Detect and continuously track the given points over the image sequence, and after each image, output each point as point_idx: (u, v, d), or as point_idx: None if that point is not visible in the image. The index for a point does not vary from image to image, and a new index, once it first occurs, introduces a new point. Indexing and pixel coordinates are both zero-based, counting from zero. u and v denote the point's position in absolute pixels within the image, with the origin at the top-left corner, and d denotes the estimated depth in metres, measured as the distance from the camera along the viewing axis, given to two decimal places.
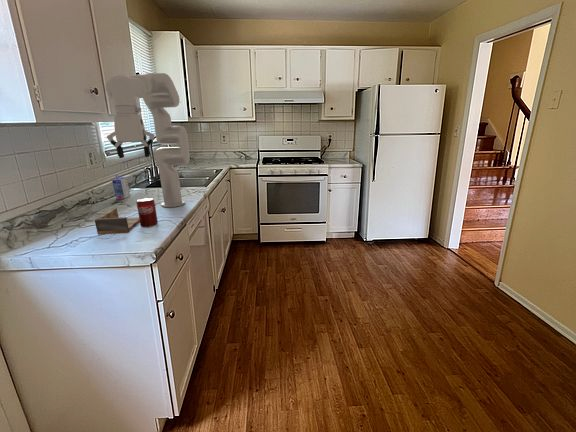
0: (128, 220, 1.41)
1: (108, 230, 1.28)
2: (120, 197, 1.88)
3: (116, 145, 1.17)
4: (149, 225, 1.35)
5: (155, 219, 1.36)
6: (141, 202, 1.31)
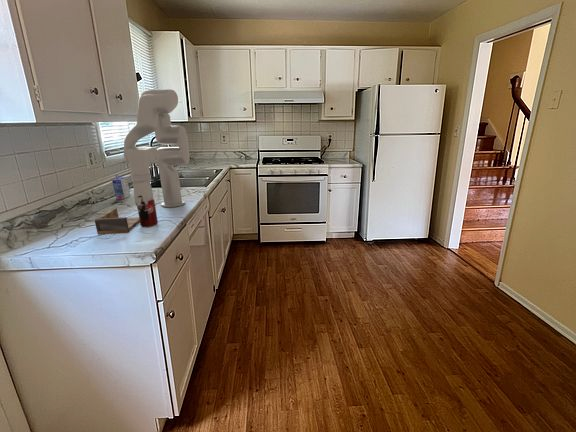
0: (128, 220, 1.41)
1: (108, 230, 1.28)
2: (120, 197, 1.88)
3: (146, 209, 1.31)
4: (149, 225, 1.35)
5: (155, 219, 1.36)
6: None
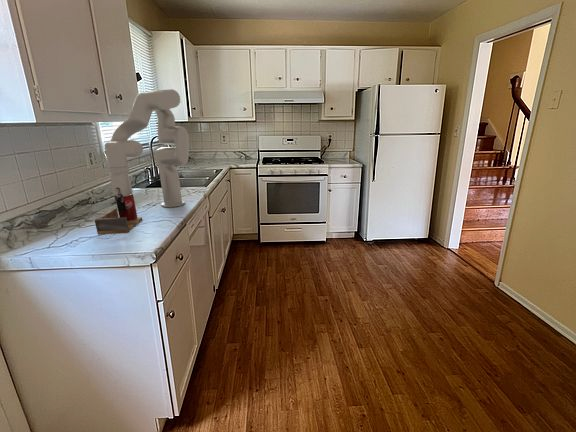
0: None
1: (108, 230, 1.28)
2: None
3: (122, 200, 1.33)
4: (128, 220, 1.38)
5: (134, 214, 1.40)
6: None
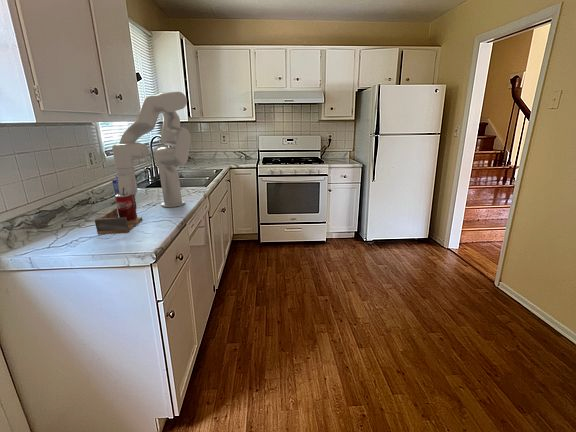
0: None
1: (108, 230, 1.28)
2: None
3: None
4: (128, 220, 1.38)
5: (134, 214, 1.40)
6: (119, 197, 1.34)
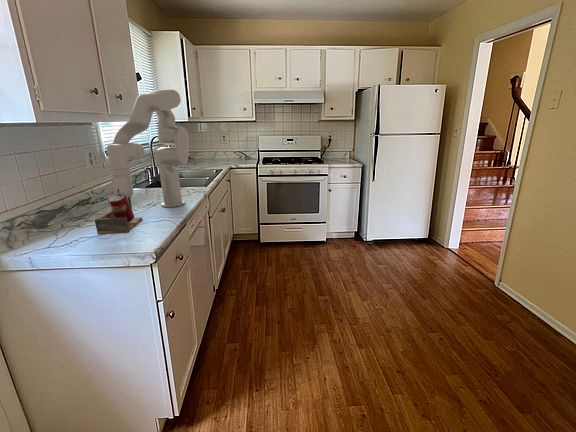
0: None
1: (108, 230, 1.28)
2: None
3: None
4: None
5: (130, 215, 1.36)
6: (113, 202, 1.29)
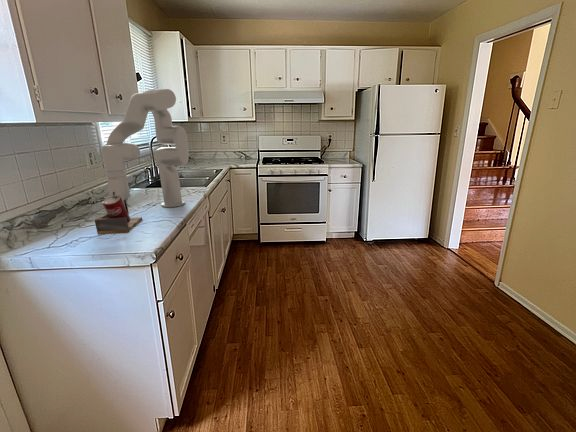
0: None
1: (108, 230, 1.28)
2: None
3: None
4: None
5: None
6: (107, 205, 1.24)
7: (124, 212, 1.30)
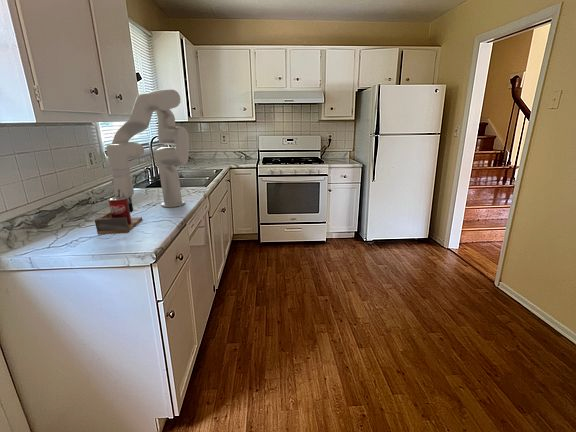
0: None
1: (108, 230, 1.28)
2: None
3: (129, 202, 1.39)
4: None
5: (128, 219, 1.32)
6: (112, 201, 1.28)
7: (127, 212, 1.32)
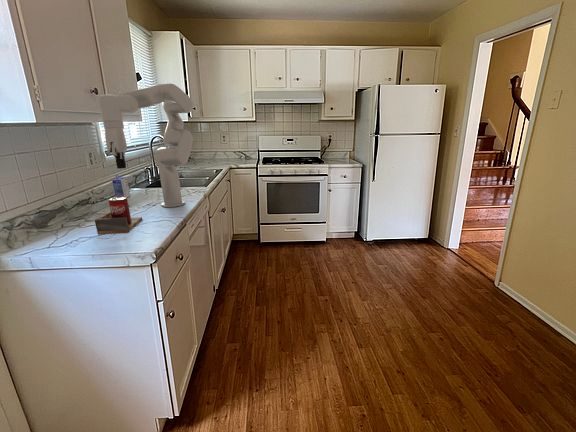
0: None
1: (108, 230, 1.28)
2: None
3: (121, 157, 1.35)
4: None
5: (128, 219, 1.32)
6: (112, 201, 1.28)
7: (127, 212, 1.32)
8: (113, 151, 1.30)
